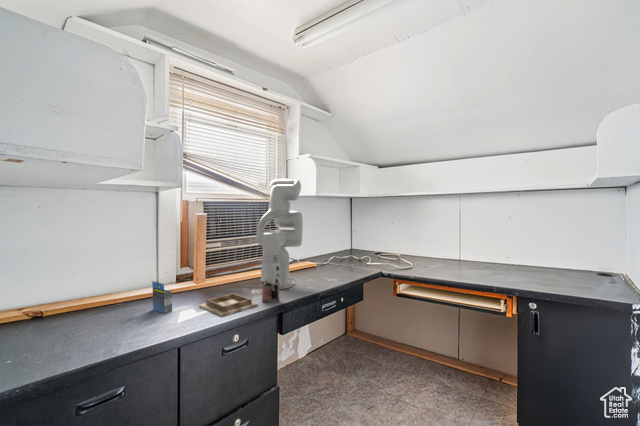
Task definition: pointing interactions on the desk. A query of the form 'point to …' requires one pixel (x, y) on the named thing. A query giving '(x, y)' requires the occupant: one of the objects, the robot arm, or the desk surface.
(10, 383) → the desk surface
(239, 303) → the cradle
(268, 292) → the reddish brown box
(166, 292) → the label tape cartridge
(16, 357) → the desk surface
